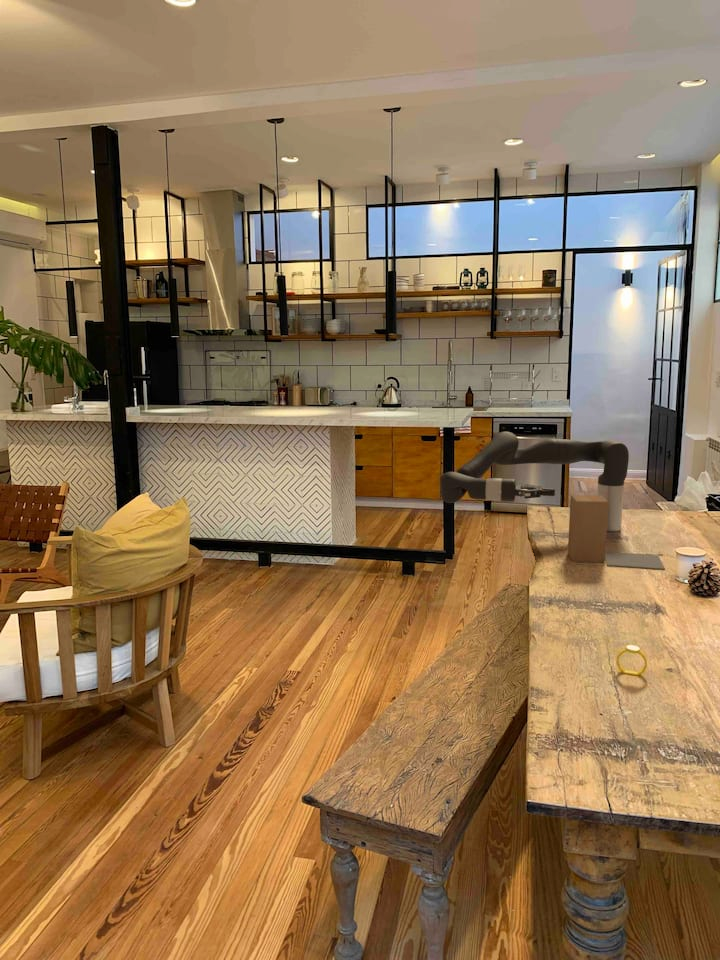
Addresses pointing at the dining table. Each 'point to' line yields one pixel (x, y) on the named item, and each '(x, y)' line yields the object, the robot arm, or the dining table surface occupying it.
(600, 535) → the wooden block
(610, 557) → the charcoal mat
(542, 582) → the dining table surface
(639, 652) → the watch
